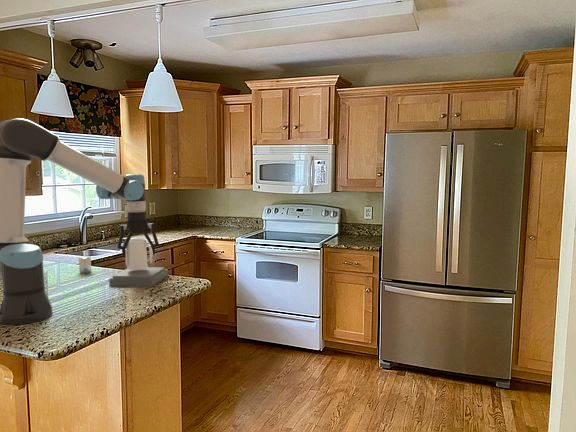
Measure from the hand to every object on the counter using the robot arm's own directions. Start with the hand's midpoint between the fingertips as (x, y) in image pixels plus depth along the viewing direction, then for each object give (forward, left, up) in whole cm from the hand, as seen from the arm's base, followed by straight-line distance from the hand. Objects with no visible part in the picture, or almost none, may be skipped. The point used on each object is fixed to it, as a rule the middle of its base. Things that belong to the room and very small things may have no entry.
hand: (139, 263), depth 190 cm
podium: (0, 0, -7) cm, 7 cm away
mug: (0, -1, -2) cm, 2 cm away
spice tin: (+13, +32, -8) cm, 35 cm away
